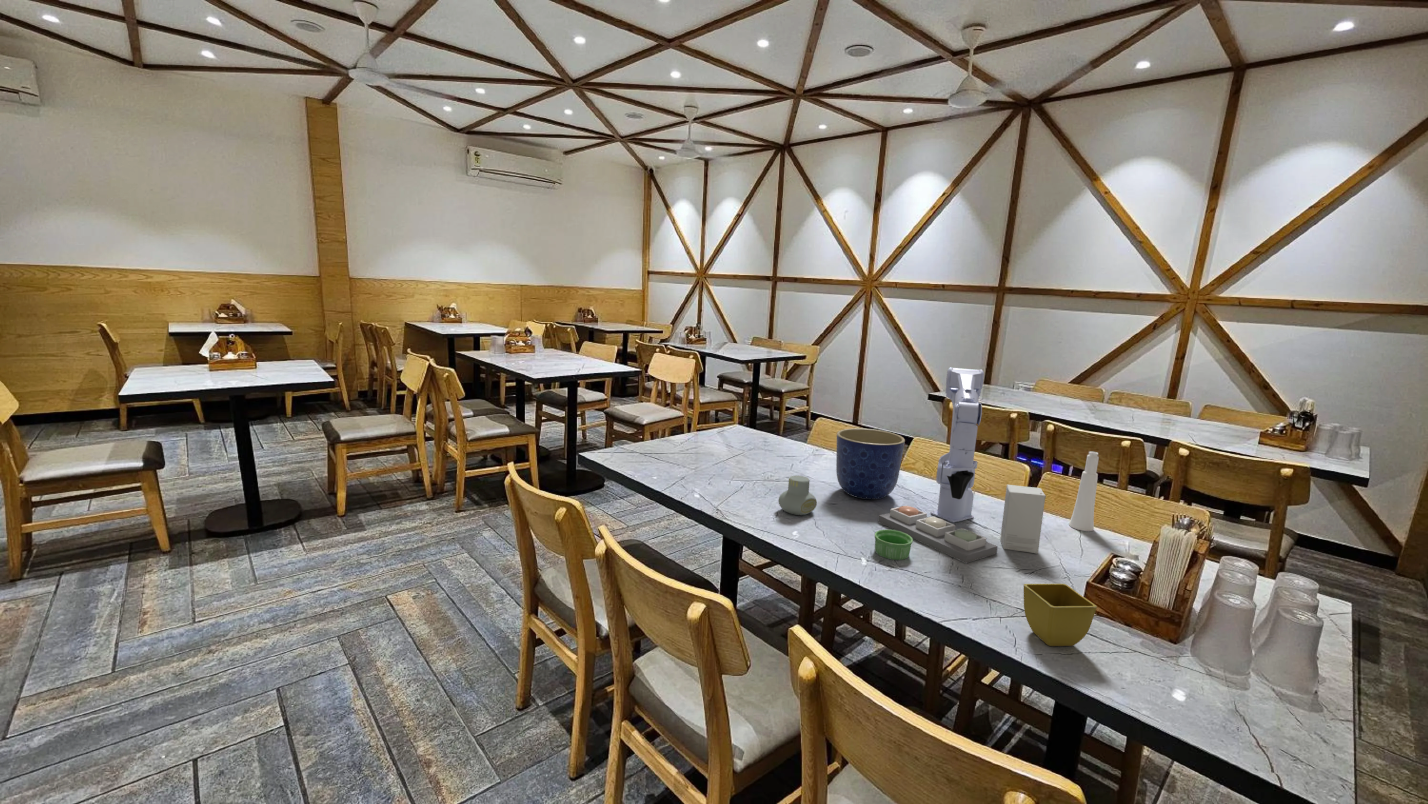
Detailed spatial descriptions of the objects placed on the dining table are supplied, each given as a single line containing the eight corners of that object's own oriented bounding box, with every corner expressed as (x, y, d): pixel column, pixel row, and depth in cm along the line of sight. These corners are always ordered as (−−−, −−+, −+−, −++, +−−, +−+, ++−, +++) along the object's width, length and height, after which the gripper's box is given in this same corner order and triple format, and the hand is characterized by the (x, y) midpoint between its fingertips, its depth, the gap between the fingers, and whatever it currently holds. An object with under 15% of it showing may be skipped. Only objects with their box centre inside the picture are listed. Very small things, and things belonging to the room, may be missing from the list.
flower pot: (1015, 625, 113) (1022, 582, 112) (1058, 625, 114) (1065, 582, 112) (1044, 653, 105) (1052, 607, 103) (1090, 652, 106) (1098, 606, 104)
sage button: (962, 536, 150) (963, 528, 149) (979, 544, 146) (981, 535, 145) (949, 540, 147) (950, 531, 147) (967, 548, 143) (968, 538, 143)
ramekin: (891, 564, 138) (893, 546, 137) (865, 548, 145) (866, 532, 145) (919, 557, 142) (920, 540, 141) (892, 543, 150) (893, 527, 149)
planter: (906, 492, 189) (912, 435, 186) (888, 510, 172) (894, 448, 169) (845, 479, 200) (849, 425, 197) (822, 495, 183) (826, 436, 180)
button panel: (907, 515, 169) (909, 502, 168) (996, 553, 146) (998, 538, 145) (878, 521, 163) (879, 508, 162) (965, 563, 140) (967, 547, 139)
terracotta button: (907, 513, 165) (907, 504, 165) (921, 519, 161) (922, 510, 160) (894, 515, 162) (895, 507, 162) (908, 522, 158) (909, 513, 158)
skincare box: (1033, 544, 152) (1042, 487, 149) (1038, 555, 146) (1047, 495, 143) (998, 539, 155) (1006, 483, 152) (1001, 549, 149) (1010, 490, 146)
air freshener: (795, 520, 162) (797, 485, 160) (773, 511, 168) (775, 477, 166) (820, 511, 169) (822, 478, 167) (798, 503, 175) (800, 471, 173)
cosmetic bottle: (1095, 527, 166) (1108, 452, 162) (1091, 533, 162) (1104, 456, 158) (1071, 521, 170) (1083, 448, 166) (1066, 526, 166) (1078, 451, 162)
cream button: (933, 524, 157) (934, 515, 157) (949, 531, 153) (950, 522, 153) (920, 527, 155) (921, 518, 154) (936, 534, 151) (937, 525, 150)
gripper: (961, 441, 160) (955, 489, 162) (934, 447, 150) (928, 498, 153) (987, 447, 154) (981, 496, 157) (960, 453, 145) (953, 506, 147)
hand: (956, 497), depth 154 cm, fingers closed
